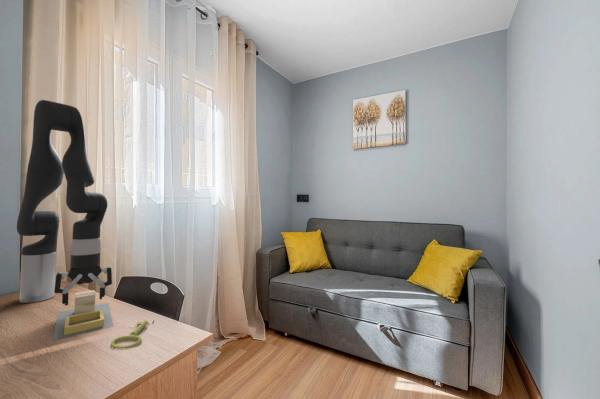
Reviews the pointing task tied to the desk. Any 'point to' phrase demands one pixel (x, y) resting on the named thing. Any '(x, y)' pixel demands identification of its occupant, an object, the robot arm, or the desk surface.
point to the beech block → (84, 302)
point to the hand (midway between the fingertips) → (84, 301)
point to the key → (130, 337)
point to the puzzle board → (82, 322)
